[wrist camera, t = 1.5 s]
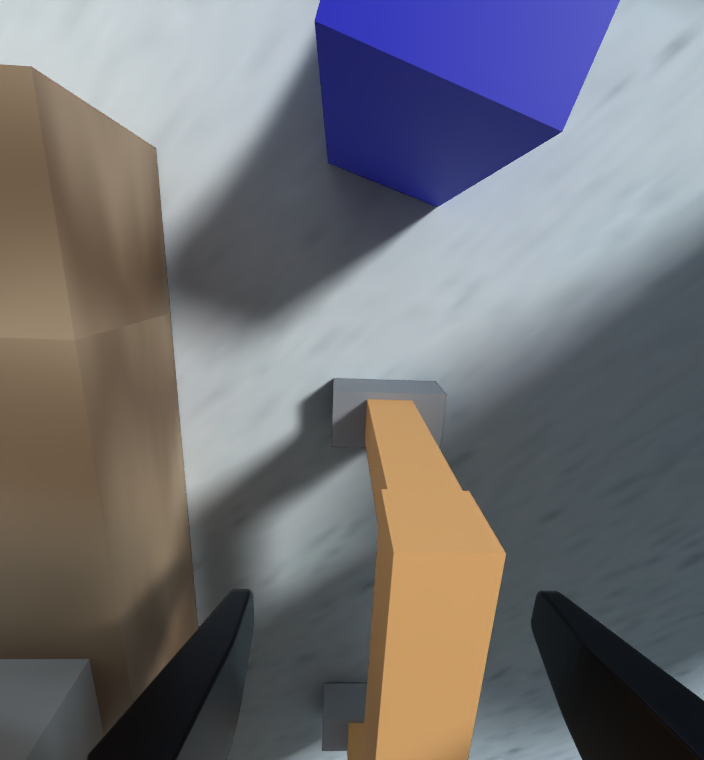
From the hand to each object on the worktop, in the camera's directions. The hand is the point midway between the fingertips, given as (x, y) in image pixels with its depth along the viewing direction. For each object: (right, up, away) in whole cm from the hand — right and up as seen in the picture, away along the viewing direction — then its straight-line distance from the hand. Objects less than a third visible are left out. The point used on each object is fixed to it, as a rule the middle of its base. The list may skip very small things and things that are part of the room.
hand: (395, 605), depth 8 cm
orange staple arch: (0, -2, +5) cm, 5 cm away
